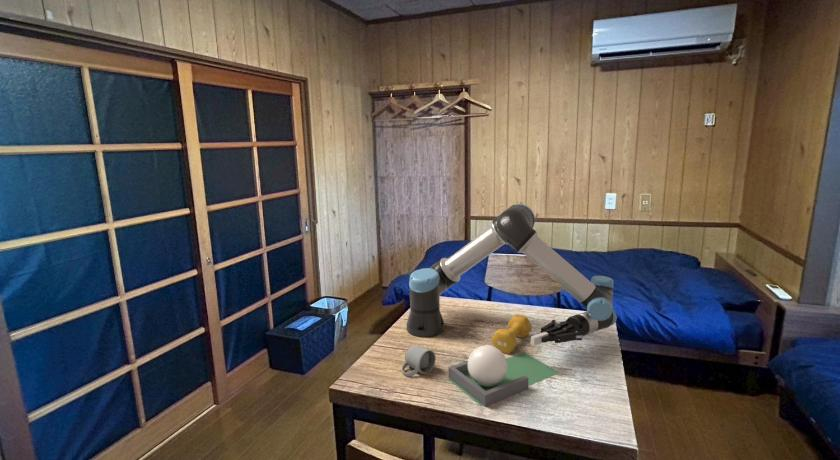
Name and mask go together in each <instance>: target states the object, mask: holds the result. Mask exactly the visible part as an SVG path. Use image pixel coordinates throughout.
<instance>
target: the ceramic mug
mask: <svg viewBox="0 0 840 460" xmlns="http://www.w3.org/2000/svg"><path fill="white" fill-rule="evenodd" d="M404 360H405V362H403V364H402V366H401V373H402V374H403V376H406V377H409V378H411V377H413V376H415V375H416V374H418V373H421V374H422V375H426V374H428V373H429V372H432V370H433V369H434V367H435V365H436V360H437V359H436V354H435V352H434V351H433V350H432V349H429V348H426V347H424V346H421V345H417V344H414V345H411V346H409V347H408V348H407V350H406V351H405V354H404ZM408 366H409V367H411V368H412V369H413V370H411V371H410V372H406V371H405V369H406V368H407V367H408ZM423 369H424V370H423Z"/></svg>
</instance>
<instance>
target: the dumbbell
mask: <svg viewBox="0 0 840 460" xmlns="http://www.w3.org/2000/svg"><path fill="white" fill-rule="evenodd" d="M507 327H508V329H506V328H498V329H497V330H496V331H495V332H494V334H493V335H492V337H491V343H492V346H493V347H496V348H497V349H499V350H500V351H501V352H502V353H503V354H504V355H505V354H506V355H509V354H511V353H512V352H513V351H514V350H515V348H516V347H517V345H518V340H517V338H518V339H519V338H520V339H525V338H526V337H527V336H528V335H529V334H530V332H531V331H532V330H533V326H532V324H531V322H530V319H529V318H528V317H527V316H525V315H522V314H514V315H513V316H512V317H511V318H510V320H509V321H508V324H507Z"/></svg>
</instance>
